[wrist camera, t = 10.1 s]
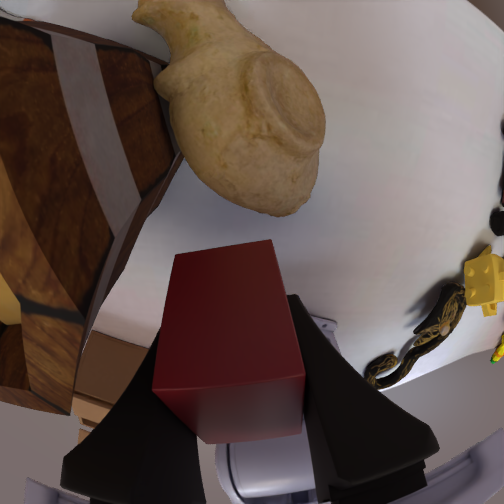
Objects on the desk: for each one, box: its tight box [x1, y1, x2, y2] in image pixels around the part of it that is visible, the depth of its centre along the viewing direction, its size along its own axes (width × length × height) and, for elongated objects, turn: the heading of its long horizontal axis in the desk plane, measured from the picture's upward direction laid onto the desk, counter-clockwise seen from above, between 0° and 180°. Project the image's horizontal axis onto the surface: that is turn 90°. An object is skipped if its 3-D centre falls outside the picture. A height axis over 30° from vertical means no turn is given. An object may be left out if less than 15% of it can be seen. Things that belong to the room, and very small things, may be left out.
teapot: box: [464, 245, 504, 317], centre depth 21 cm, size 8×6×5 cm
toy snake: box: [364, 282, 467, 390], centre depth 28 cm, size 18×5×10 cm
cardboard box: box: [72, 330, 149, 429], centre depth 25 cm, size 11×11×8 cm
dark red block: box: [152, 239, 306, 444], centre depth 9 cm, size 4×5×6 cm
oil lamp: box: [131, 0, 326, 217], centre depth 12 cm, size 11×14×5 cm
